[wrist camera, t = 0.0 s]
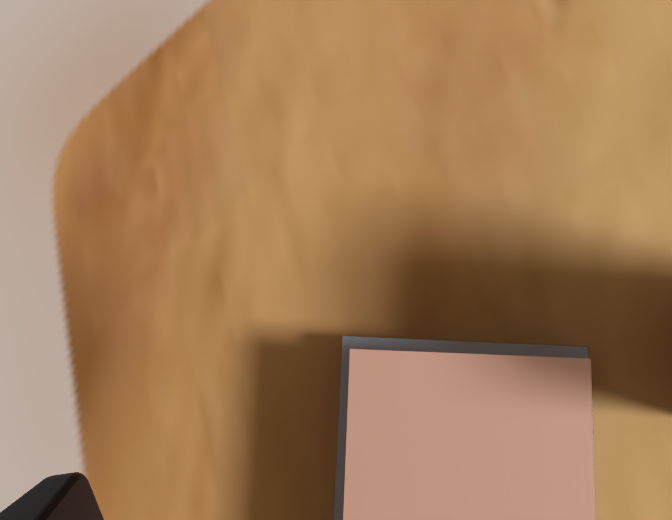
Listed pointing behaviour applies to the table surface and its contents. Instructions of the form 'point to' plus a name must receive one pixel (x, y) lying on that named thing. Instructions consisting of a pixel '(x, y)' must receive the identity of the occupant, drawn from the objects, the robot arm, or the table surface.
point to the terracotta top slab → (468, 437)
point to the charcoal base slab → (422, 346)
